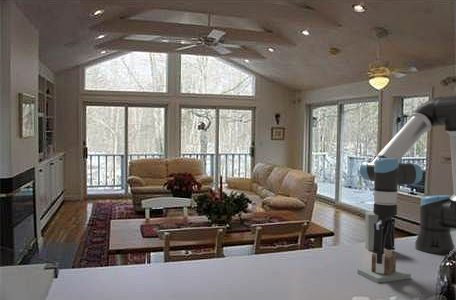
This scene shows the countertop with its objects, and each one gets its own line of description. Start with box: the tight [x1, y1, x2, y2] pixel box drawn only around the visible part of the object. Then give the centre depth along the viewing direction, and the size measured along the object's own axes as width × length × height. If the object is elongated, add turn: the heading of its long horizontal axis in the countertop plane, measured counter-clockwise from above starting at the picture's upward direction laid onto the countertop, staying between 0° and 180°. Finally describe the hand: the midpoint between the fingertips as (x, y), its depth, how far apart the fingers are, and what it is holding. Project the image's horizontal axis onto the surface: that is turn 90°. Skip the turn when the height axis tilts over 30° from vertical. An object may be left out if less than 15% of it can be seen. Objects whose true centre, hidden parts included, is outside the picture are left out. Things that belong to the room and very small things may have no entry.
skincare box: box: [364, 211, 385, 252], centre depth 178 cm, size 8×7×16 cm
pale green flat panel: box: [356, 266, 412, 284], centre depth 144 cm, size 14×10×6 cm
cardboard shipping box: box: [371, 252, 397, 275], centre depth 144 cm, size 6×6×6 cm
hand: (383, 270), depth 144 cm, fingers closed on cardboard shipping box, 6 cm apart
